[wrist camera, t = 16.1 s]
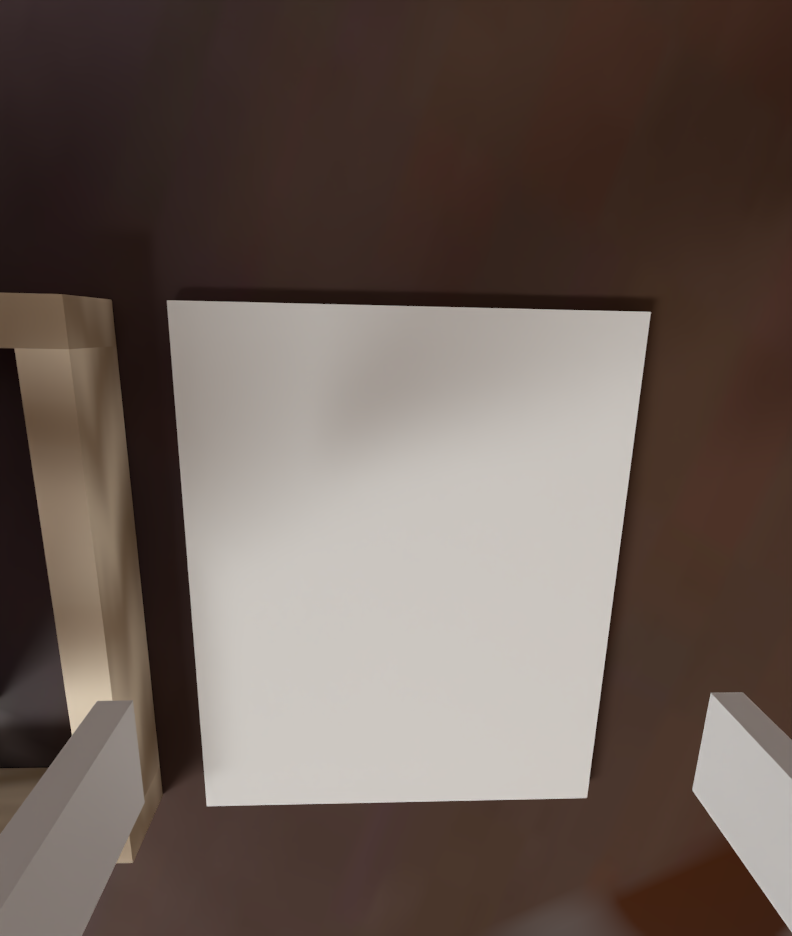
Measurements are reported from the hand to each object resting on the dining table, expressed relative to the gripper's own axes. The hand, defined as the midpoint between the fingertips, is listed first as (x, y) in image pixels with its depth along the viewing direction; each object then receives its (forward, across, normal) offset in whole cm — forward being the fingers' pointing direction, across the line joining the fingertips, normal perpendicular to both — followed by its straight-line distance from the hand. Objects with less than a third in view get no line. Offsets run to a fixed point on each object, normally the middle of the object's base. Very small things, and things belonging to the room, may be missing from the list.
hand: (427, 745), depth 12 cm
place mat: (+9, 0, 0) cm, 9 cm away
